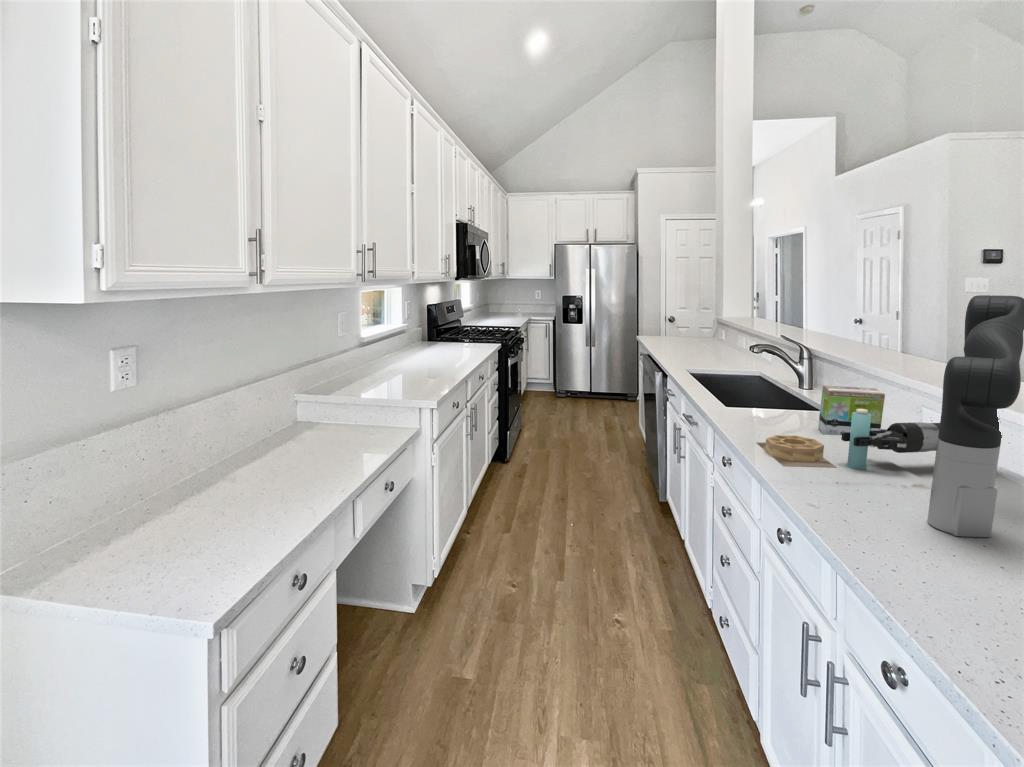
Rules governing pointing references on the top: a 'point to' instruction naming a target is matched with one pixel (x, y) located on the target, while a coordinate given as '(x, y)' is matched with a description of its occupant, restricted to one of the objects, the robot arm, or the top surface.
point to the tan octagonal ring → (794, 448)
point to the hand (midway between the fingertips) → (848, 439)
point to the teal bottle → (858, 429)
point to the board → (787, 463)
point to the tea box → (848, 408)
